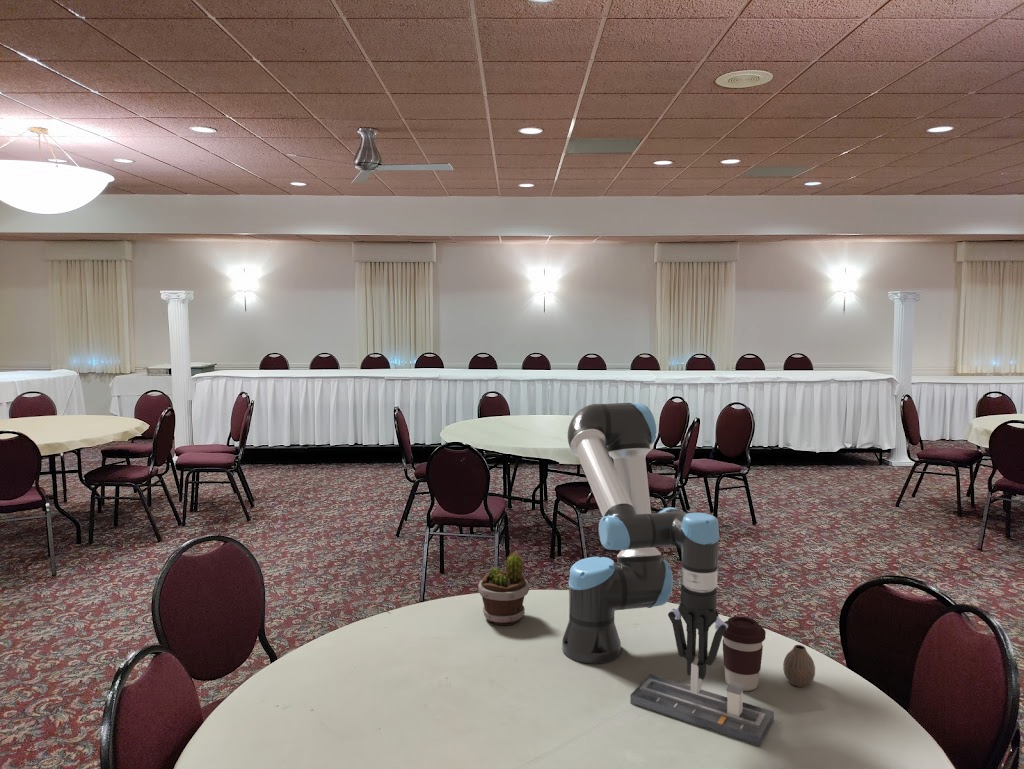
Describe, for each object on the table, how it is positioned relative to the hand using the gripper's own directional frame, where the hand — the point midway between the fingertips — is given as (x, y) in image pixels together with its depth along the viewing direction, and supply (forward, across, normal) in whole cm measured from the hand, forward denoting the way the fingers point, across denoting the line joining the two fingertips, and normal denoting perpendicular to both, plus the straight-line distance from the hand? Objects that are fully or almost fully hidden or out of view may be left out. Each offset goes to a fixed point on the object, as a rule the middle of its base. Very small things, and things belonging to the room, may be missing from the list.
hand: (695, 690), depth 148 cm
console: (+4, +1, 0) cm, 5 cm away
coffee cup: (+5, +5, +17) cm, 18 cm away
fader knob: (+2, +9, 0) cm, 9 cm away
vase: (+5, +16, +24) cm, 30 cm away
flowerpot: (+5, -62, +15) cm, 64 cm away
